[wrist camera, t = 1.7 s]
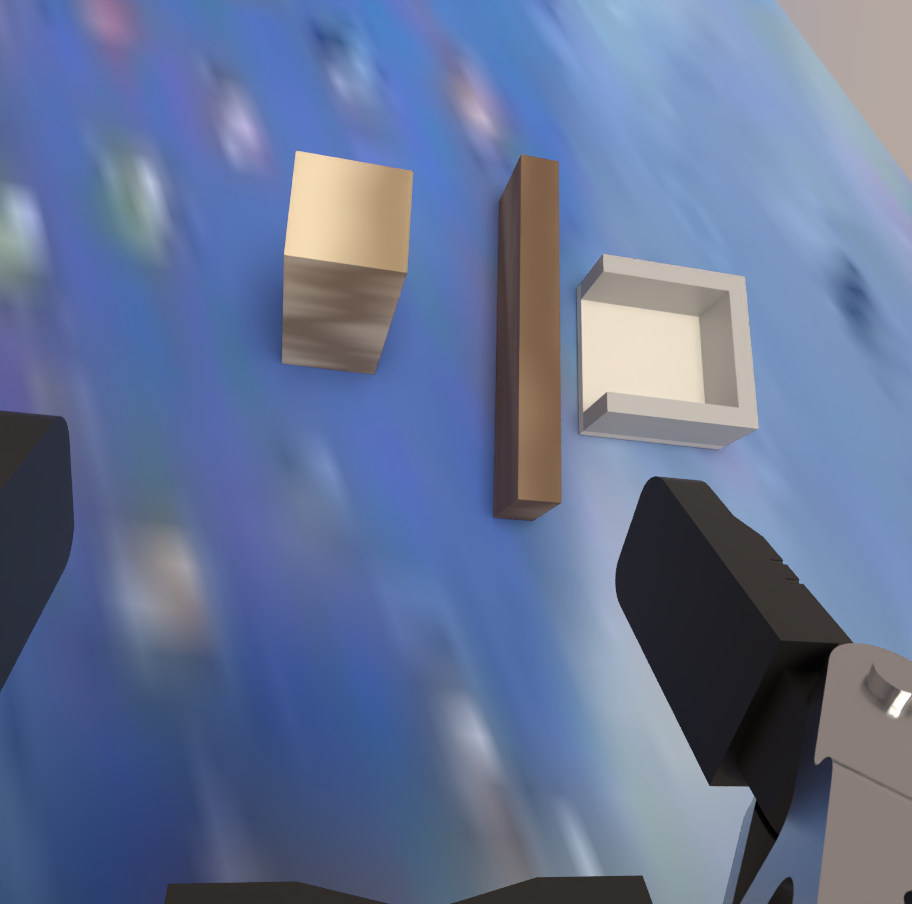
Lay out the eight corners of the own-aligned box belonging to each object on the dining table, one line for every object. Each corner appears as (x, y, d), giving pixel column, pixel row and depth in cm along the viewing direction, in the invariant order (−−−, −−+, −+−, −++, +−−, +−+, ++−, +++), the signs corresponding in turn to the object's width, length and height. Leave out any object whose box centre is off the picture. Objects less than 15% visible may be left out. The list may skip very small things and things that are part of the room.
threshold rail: (493, 517, 37) (518, 499, 33) (499, 201, 42) (521, 154, 38) (532, 520, 37) (561, 502, 33) (533, 206, 43) (558, 161, 39)
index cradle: (578, 434, 39) (607, 411, 36) (576, 288, 42) (603, 253, 38) (718, 449, 41) (758, 428, 37) (708, 308, 43) (744, 276, 40)
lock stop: (282, 363, 37) (284, 254, 27) (291, 281, 38) (296, 150, 29) (374, 374, 38) (407, 272, 28) (380, 293, 39) (413, 171, 30)
